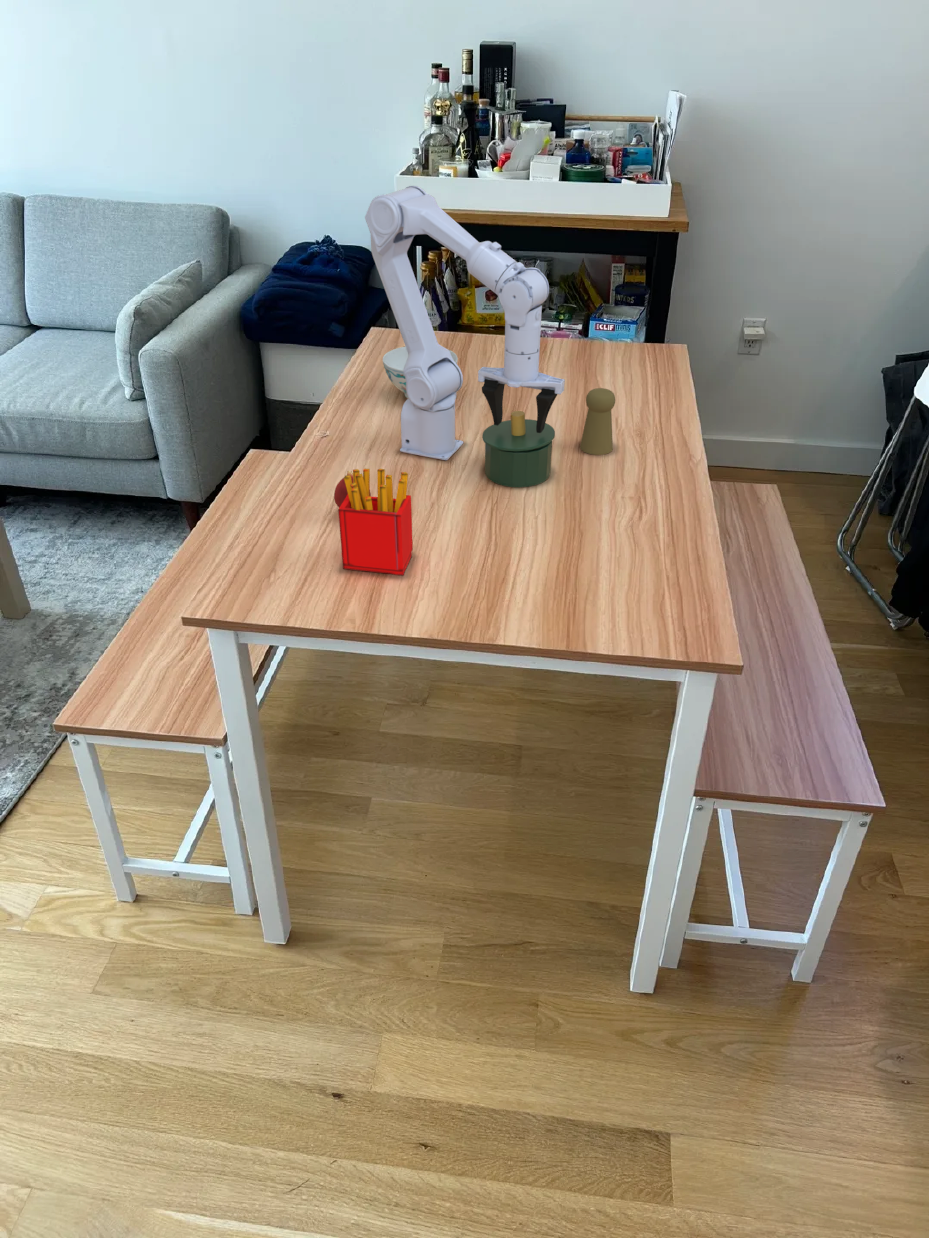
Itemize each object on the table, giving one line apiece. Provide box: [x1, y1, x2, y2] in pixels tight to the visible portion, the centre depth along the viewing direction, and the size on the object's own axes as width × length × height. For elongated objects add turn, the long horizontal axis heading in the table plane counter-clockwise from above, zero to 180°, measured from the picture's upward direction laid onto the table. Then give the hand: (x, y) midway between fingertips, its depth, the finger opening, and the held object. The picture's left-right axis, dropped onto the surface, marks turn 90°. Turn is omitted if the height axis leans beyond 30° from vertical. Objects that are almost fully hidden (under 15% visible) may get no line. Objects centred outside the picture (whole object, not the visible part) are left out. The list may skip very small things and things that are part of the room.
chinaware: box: [382, 345, 459, 399], centre depth 194 cm, size 15×15×8 cm
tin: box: [484, 440, 553, 488], centre depth 167 cm, size 11×11×6 cm
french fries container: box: [337, 468, 414, 576], centre depth 140 cm, size 7×9×14 cm
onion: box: [333, 470, 372, 509], centre depth 153 cm, size 6×6×8 cm
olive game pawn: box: [579, 387, 616, 456], centre depth 173 cm, size 6×6×11 cm
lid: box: [481, 410, 556, 451], centre depth 163 cm, size 12×12×5 cm
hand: (519, 426), depth 164 cm, fingers open, 7 cm apart
